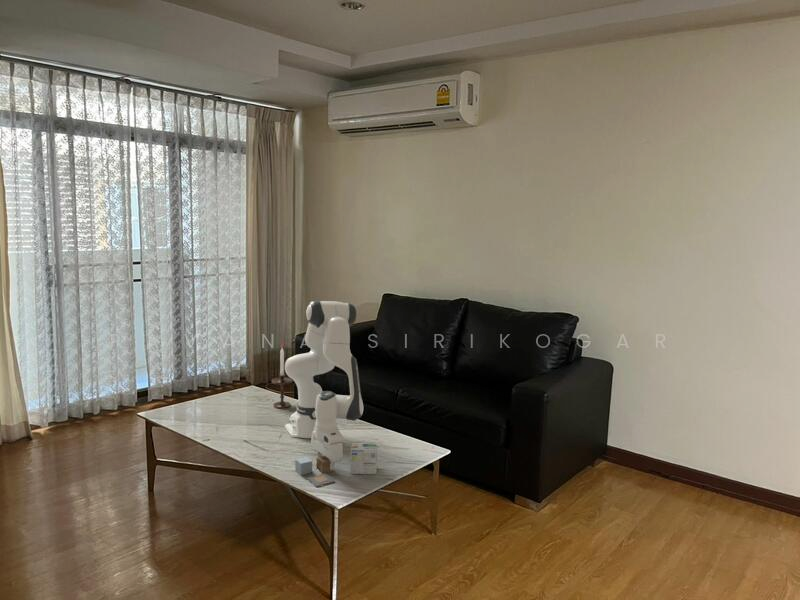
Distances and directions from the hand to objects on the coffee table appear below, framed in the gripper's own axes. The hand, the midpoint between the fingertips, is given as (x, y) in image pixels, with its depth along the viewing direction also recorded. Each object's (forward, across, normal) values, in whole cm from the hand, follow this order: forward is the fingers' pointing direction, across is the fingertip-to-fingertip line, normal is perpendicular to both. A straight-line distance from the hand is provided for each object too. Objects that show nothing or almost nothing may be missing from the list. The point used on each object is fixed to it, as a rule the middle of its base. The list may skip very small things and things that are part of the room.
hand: (326, 464), depth 236 cm
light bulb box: (+3, +9, +12) cm, 16 cm away
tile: (+2, +8, -6) cm, 10 cm away
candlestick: (+2, -82, +18) cm, 84 cm away
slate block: (+2, -3, -8) cm, 9 cm away
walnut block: (+2, 0, 0) cm, 2 cm away
